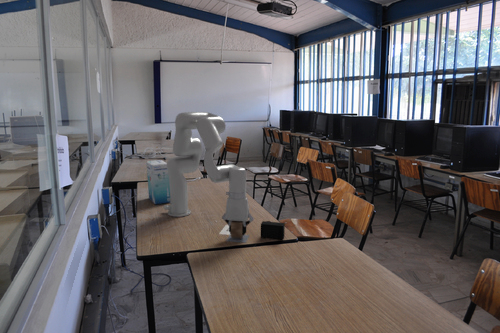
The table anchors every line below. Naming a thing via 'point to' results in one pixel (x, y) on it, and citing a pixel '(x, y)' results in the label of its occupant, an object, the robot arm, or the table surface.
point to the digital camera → (272, 230)
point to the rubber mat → (238, 239)
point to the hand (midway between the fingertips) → (237, 233)
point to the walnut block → (236, 229)
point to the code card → (225, 230)
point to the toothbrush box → (158, 182)
